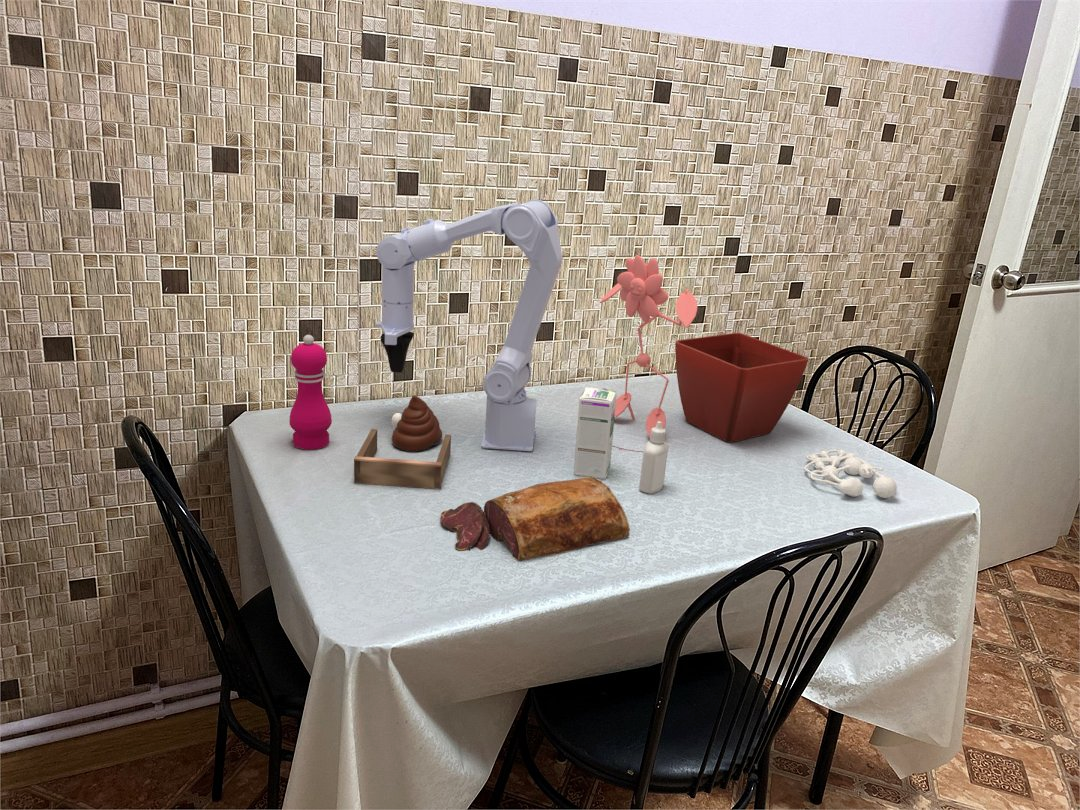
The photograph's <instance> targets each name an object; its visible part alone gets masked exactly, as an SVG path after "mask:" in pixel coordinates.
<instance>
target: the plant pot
mask: <svg viewBox="0 0 1080 810" xmlns="http://www.w3.org/2000/svg"><path fill="white" fill-rule="evenodd" d="M674 346H675V347H674V349H675V352H674V354H675V368H676V369H675V370H676V379H677V386H678V391H679V392H678V393H679V398H680V403H681V407H682V411H683V414H684V415H683V416H684V418H685V421H686V423H689V424H691V425H693V426H695V427H697V428H699V429H701V430H702V431H704V432H706V433H708V434H709V435H713V436H714V437H716V438H719V440H722V441H724V442H727V443H734V442H738V441H743V440H746V439H751V438H757V437H760V436H764V435H768V434H771V433H772V431H773V430H774V429H775V427H776V426H777V424H778V423H779V422H780V420H781V418H782V416H783V415H784V413H785V411H786V410H787V408H788V406H789V404H790V403H791V400H792V399H793V397H794V395H795V393H796V391H797V389H798V387H799V385H800V381H802V380H801V379H802V378H803V376H804V373H805V371H806V368H807V366H808V362H809V360H810V358H809V357H807V356H804V355H802V354H799V353H797V352H794V351H792V350H789V349H785V348H782V347H780V346H778V345H775V344H772V343H770V342H768V341H765V340H761V339H758V338H755V337H753V336H750V335H747V334H744V333H742V332H733V333H732V332H731V333H725V334H716V335H707V336H700V337H699V336H698V337H694V338H693V337H691V338H685V339H677V340H675V345H674Z"/></svg>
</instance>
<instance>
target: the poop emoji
mask: <svg viewBox="0 0 1080 810" xmlns="http://www.w3.org/2000/svg"><path fill="white" fill-rule="evenodd" d="M439 421H440V420H439V418H438V417H437V416H436V415H435V414H434V411H433V410H432V409H431V408H430V406H428V403H426V401H425V400H423V399H422V398H420V397H418V396H417V395H413V396H411V397H410V400H409V402H408V405H407V407H405V408H404V409H403V412H402V413H401V412H396V413H394V414H393V415H392V417H391V424H392V425H393V427H394V428H395V429H394V430H393V432H392V433H391V441H392V442H391V443H392V444H393V445H394V447H395V448H397V449H399V450H402V451H404V452H405V451H406V452H413V453H414V452H422V451H424V450H426V449H429V448H430V447H432V446H433V445H437V444H439V443H440V442H441V441H442V439H443V431H442V429H441V426H440V422H439Z"/></svg>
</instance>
